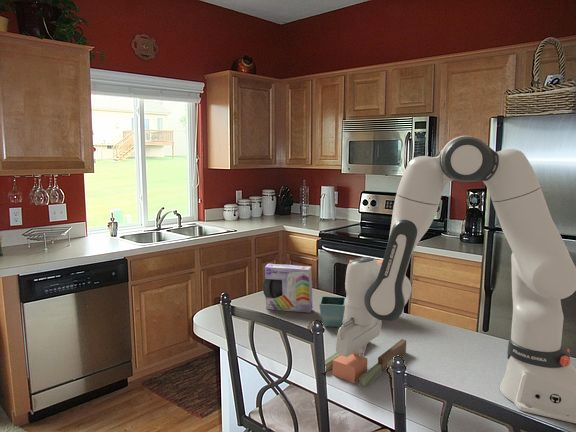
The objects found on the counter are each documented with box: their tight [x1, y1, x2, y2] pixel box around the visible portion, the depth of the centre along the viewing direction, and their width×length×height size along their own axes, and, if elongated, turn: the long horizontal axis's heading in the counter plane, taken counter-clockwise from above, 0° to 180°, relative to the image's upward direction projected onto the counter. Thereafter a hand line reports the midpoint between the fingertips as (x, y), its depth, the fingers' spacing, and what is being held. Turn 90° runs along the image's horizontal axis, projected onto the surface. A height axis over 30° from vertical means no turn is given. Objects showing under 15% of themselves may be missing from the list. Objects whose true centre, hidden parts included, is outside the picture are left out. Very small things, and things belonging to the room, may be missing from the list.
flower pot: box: [319, 295, 346, 328], centre depth 160 cm, size 9×9×9 cm
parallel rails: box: [324, 338, 407, 389], centre depth 132 cm, size 14×26×4 cm, turn 142°
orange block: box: [332, 354, 368, 384], centre depth 125 cm, size 7×7×4 cm
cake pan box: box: [262, 263, 314, 313], centre depth 174 cm, size 19×5×18 cm, turn 73°
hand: (358, 359), depth 129 cm, fingers closed
